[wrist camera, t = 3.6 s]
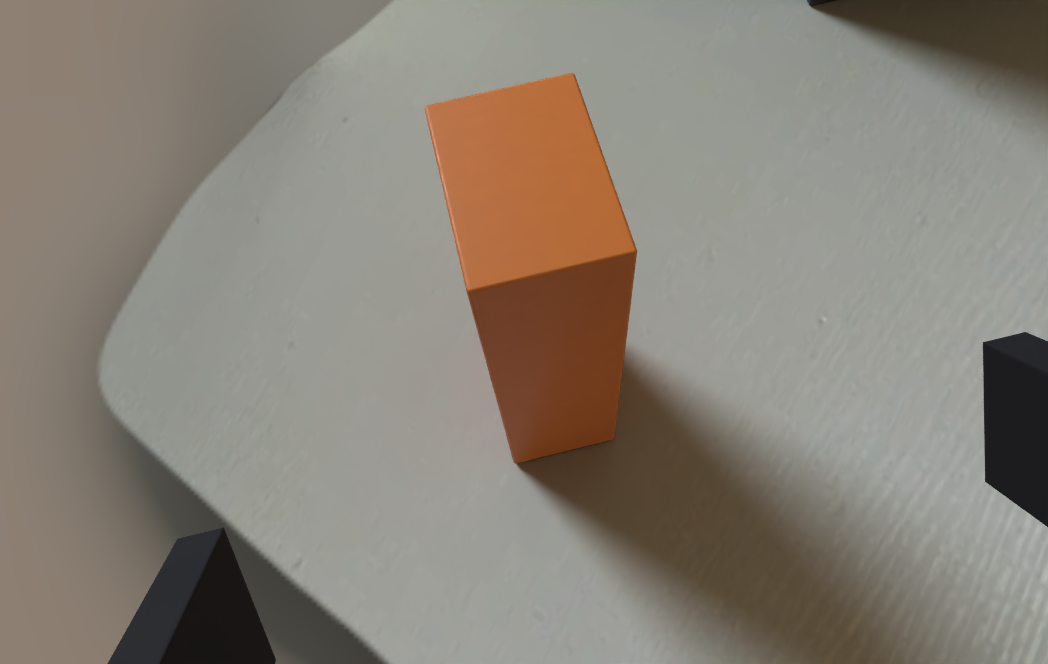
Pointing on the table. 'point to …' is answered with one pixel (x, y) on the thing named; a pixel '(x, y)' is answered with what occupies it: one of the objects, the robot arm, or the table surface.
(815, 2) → the bin
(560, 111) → the block
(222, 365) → the table surface
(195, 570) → the robot arm
